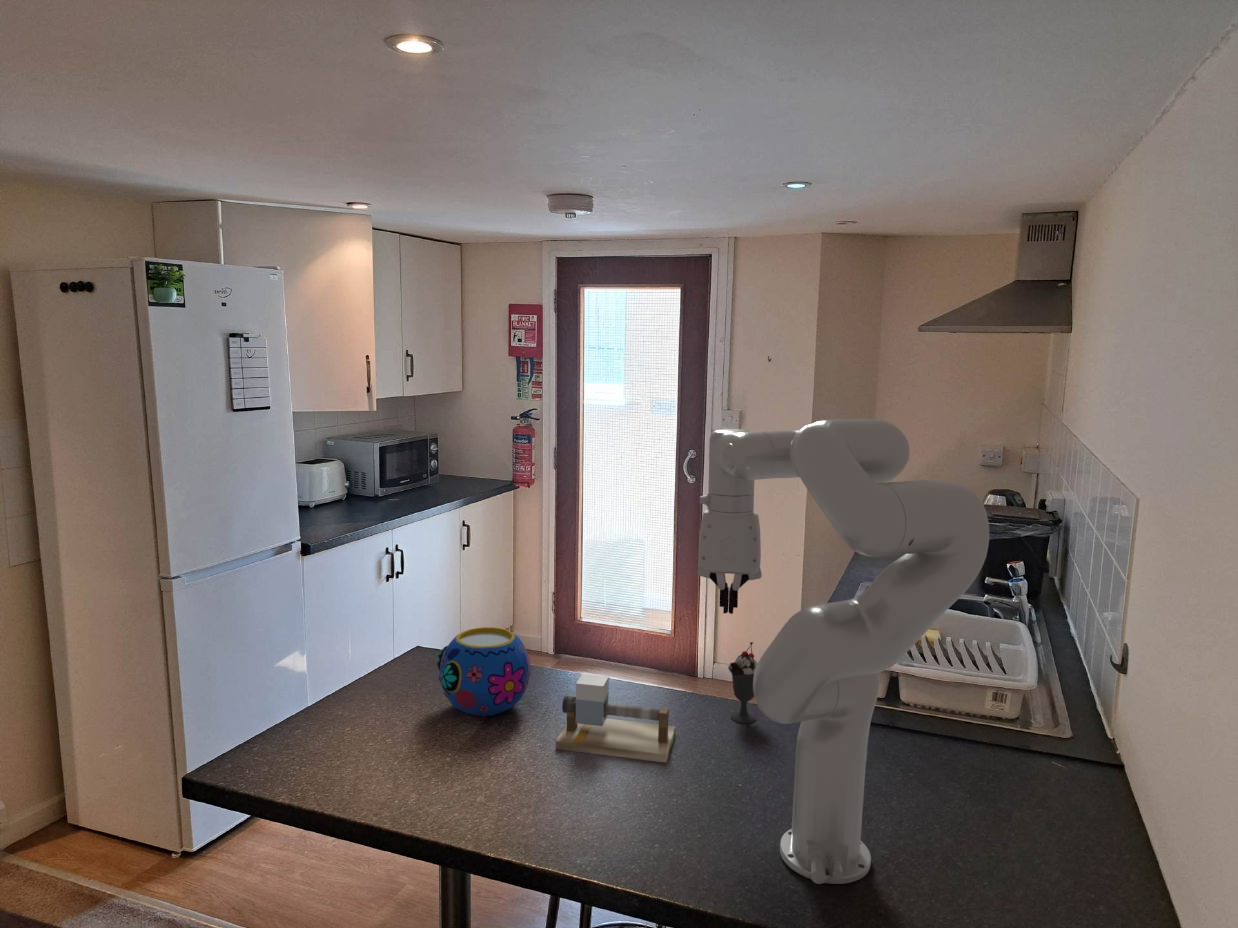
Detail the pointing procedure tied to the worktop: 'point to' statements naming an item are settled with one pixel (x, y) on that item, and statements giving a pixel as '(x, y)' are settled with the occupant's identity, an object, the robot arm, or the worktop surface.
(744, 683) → the sundae
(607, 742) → the board
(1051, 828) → the worktop surface
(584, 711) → the sleeve
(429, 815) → the worktop surface
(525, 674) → the ceramic pot
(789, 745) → the worktop surface
